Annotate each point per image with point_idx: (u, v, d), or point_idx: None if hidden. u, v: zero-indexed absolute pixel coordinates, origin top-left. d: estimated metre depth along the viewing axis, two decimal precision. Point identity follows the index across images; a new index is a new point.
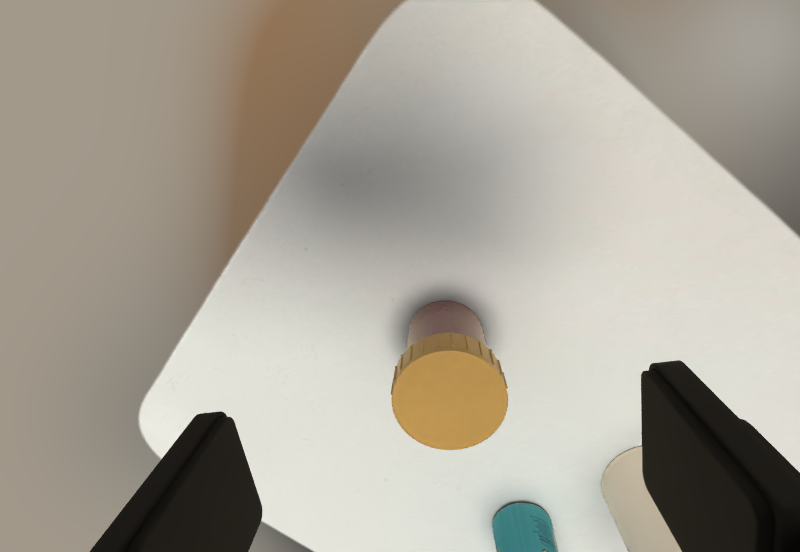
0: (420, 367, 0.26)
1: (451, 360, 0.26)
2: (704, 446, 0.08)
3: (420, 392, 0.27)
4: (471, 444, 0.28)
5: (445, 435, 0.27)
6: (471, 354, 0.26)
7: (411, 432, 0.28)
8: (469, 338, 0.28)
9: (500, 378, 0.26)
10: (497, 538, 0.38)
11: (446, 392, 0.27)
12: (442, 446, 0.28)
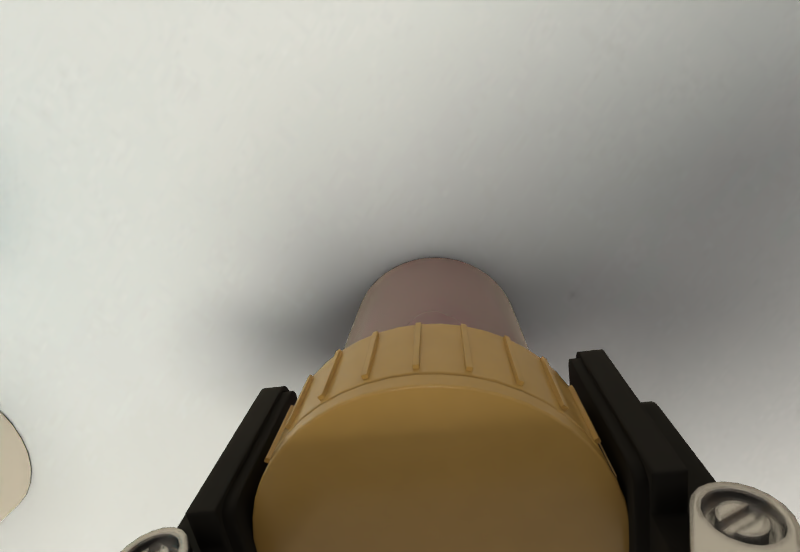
0: None
1: None
2: (605, 423, 0.08)
3: (525, 509, 0.08)
4: (260, 515, 0.08)
5: (334, 477, 0.08)
6: None
7: (411, 401, 0.07)
8: None
9: None
10: None
11: None
12: (302, 446, 0.08)
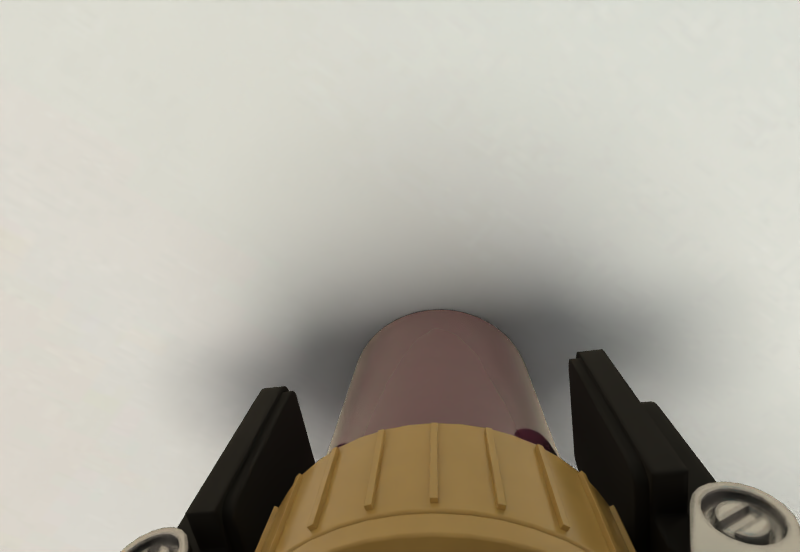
0: None
1: None
2: (605, 423, 0.08)
3: None
4: None
5: None
6: None
7: None
8: None
9: None
10: None
11: None
12: None
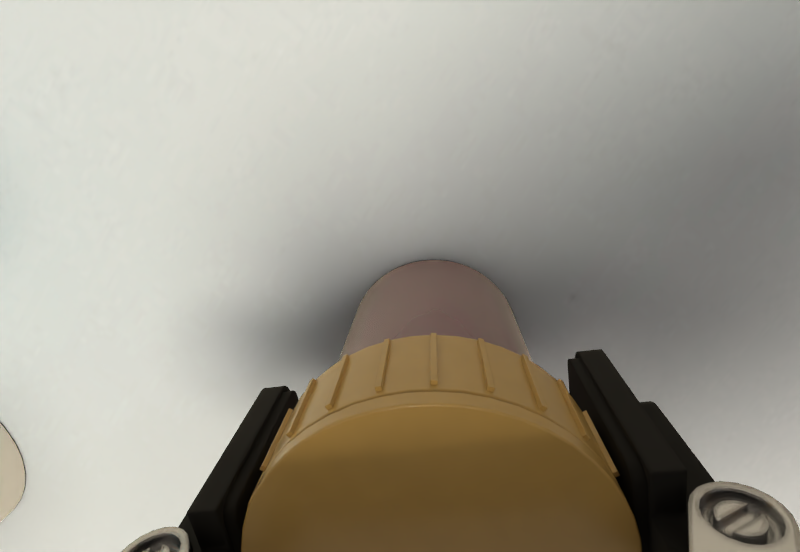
0: (454, 436, 0.07)
1: (560, 481, 0.07)
2: (604, 423, 0.08)
3: (384, 498, 0.07)
4: None
5: None
6: (627, 504, 0.07)
7: None
8: None
9: None
10: None
11: (455, 548, 0.08)
12: None
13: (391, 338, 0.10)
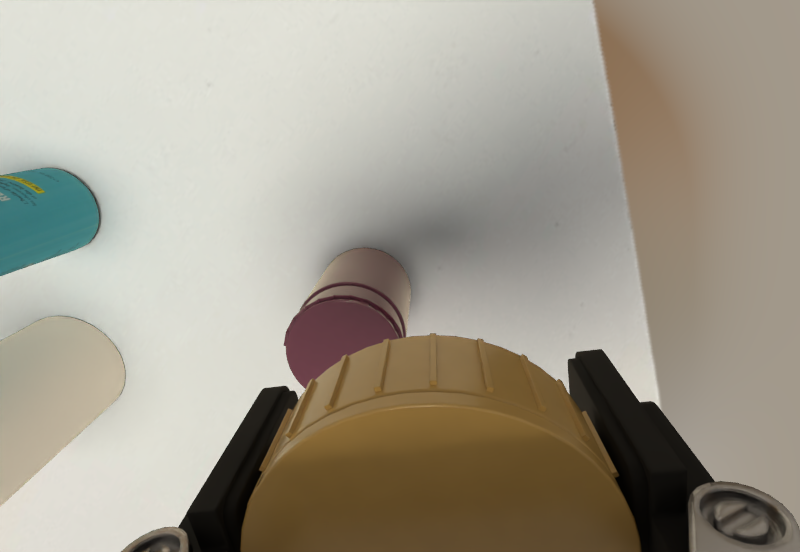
0: (454, 436, 0.07)
1: (559, 482, 0.07)
2: (604, 423, 0.08)
3: (383, 499, 0.07)
4: None
5: None
6: (626, 505, 0.07)
7: None
8: None
9: None
10: (58, 190, 0.26)
11: (454, 548, 0.08)
12: None
13: (329, 280, 0.23)
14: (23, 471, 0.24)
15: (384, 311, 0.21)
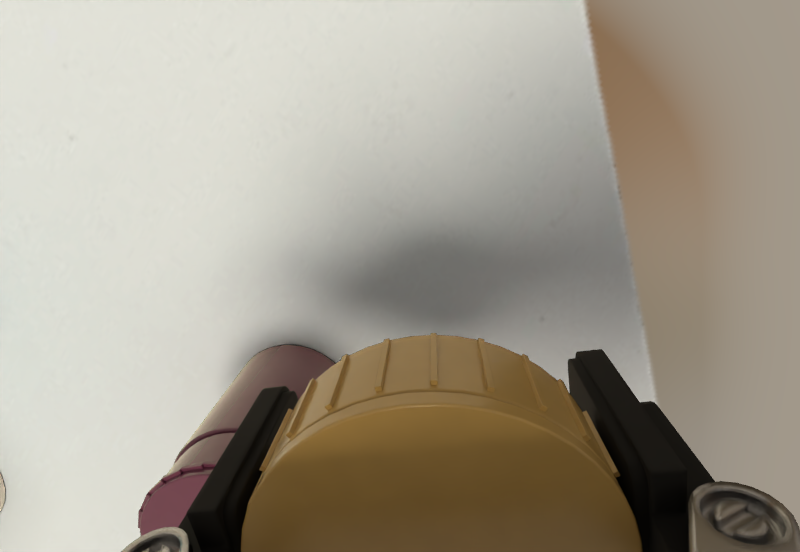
0: (454, 436, 0.07)
1: (560, 482, 0.07)
2: (604, 423, 0.08)
3: (384, 499, 0.07)
4: None
5: None
6: (627, 505, 0.07)
7: None
8: None
9: None
10: None
11: (455, 549, 0.08)
12: None
13: (217, 419, 0.16)
14: None
15: None
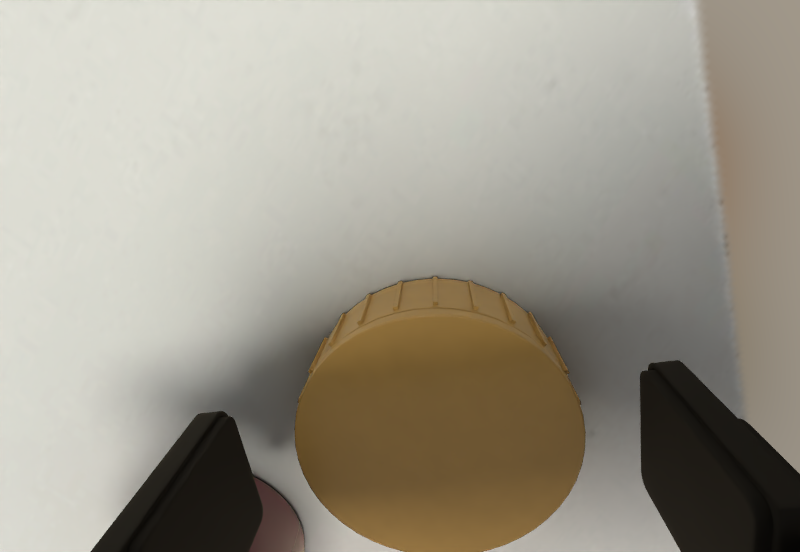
0: (449, 338, 0.10)
1: (524, 372, 0.10)
2: (703, 445, 0.08)
3: (399, 387, 0.10)
4: (400, 547, 0.12)
5: (368, 499, 0.11)
6: (572, 390, 0.10)
7: (306, 449, 0.11)
8: None
9: (576, 474, 0.11)
10: None
11: (450, 425, 0.10)
12: (342, 513, 0.11)
13: None
14: None
15: None
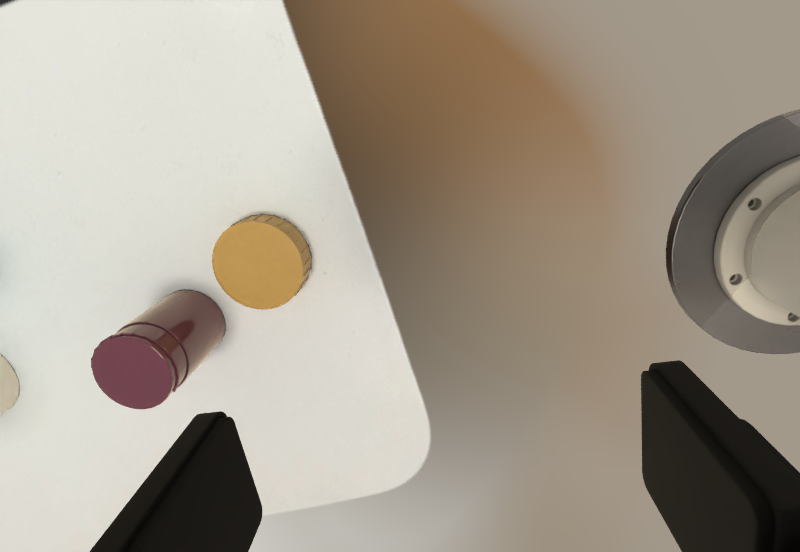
0: (256, 229, 0.33)
1: (279, 239, 0.33)
2: (704, 446, 0.08)
3: (243, 245, 0.33)
4: (250, 305, 0.34)
5: (237, 287, 0.34)
6: (295, 245, 0.33)
7: (216, 268, 0.34)
8: (303, 239, 0.35)
9: (301, 275, 0.33)
10: None
11: (260, 258, 0.33)
12: (230, 292, 0.34)
13: (134, 320, 0.32)
14: None
15: (158, 344, 0.30)
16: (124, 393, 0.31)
